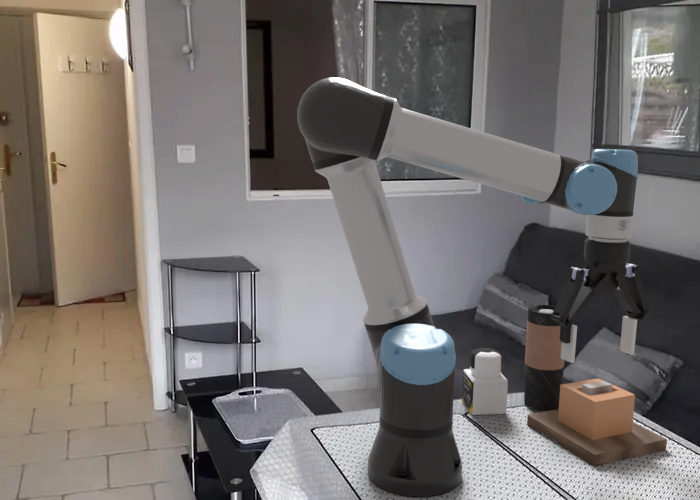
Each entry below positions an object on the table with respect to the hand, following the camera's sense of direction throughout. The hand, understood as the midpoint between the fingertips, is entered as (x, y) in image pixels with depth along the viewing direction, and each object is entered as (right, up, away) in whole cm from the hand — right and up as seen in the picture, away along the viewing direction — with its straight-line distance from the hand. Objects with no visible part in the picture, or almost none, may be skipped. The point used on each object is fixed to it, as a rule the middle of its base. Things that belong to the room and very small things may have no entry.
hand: (597, 356), depth 125 cm
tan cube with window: (0, -13, +2) cm, 13 cm away
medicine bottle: (-17, -13, +16) cm, 27 cm away
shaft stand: (0, -15, +3) cm, 15 cm away
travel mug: (-5, -13, +17) cm, 22 cm away
